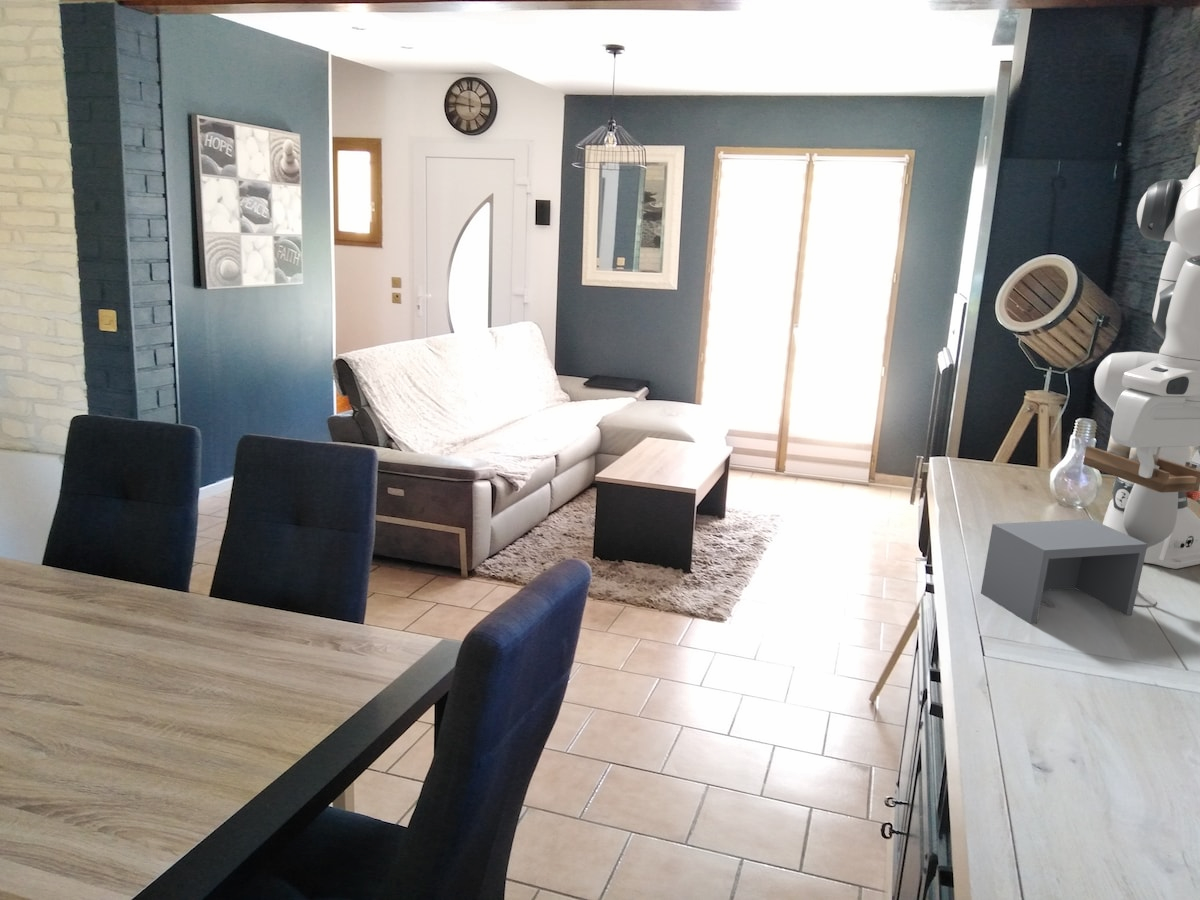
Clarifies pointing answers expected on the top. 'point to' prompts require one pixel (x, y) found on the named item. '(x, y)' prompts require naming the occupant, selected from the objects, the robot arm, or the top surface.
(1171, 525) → the wineglass
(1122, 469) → the tray
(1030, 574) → the grey cover
